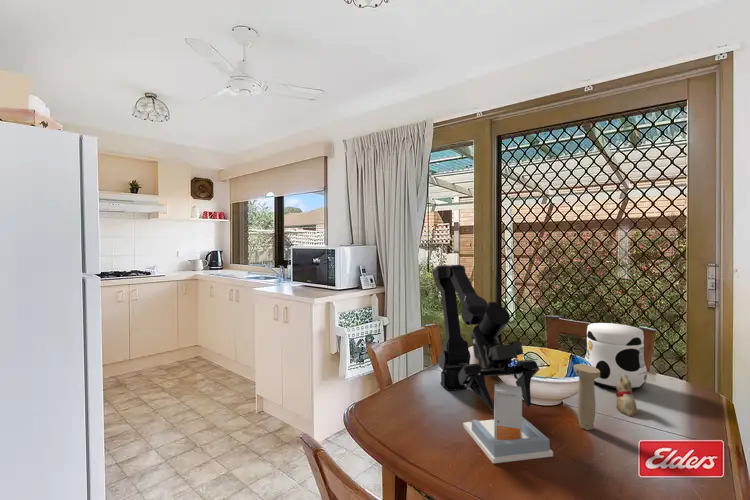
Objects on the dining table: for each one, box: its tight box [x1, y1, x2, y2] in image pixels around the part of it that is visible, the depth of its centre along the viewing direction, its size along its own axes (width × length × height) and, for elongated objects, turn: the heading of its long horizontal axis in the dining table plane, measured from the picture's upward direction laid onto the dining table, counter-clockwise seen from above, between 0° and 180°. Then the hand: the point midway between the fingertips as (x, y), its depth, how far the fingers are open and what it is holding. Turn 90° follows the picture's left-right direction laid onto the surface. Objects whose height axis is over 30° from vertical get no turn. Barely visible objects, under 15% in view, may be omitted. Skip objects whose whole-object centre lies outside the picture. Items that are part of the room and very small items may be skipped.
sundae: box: [470, 339, 484, 369], centre depth 136 cm, size 7×7×15 cm
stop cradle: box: [462, 416, 554, 464], centre depth 89 cm, size 16×14×4 cm
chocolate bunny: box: [615, 375, 638, 417], centre depth 104 cm, size 6×8×10 cm
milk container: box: [584, 322, 648, 390], centre depth 122 cm, size 17×17×18 cm
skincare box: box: [493, 383, 523, 441], centre depth 88 cm, size 6×4×12 cm
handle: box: [573, 363, 600, 431], centre depth 94 cm, size 5×6×15 cm
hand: (510, 407), depth 86 cm, fingers open, 9 cm apart
